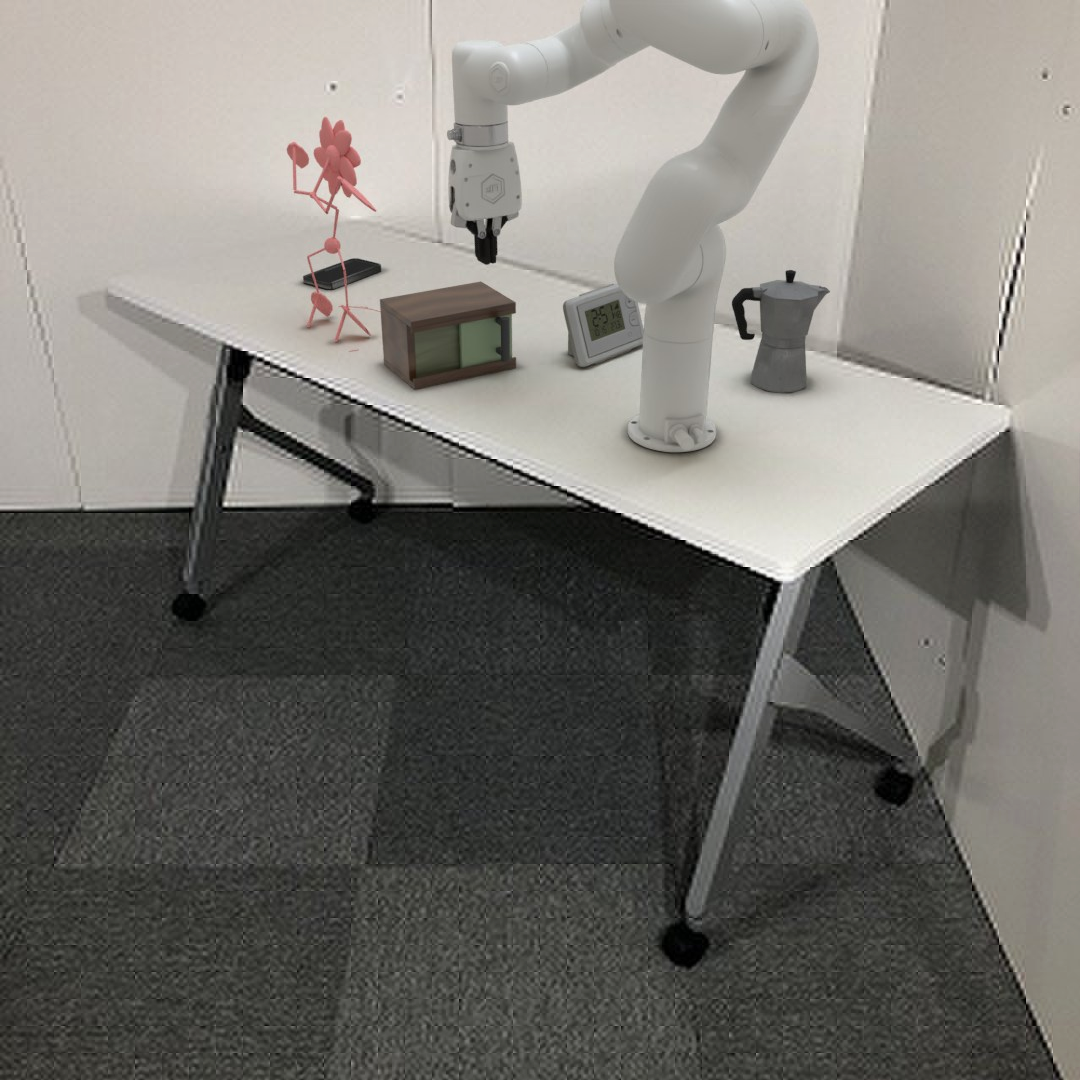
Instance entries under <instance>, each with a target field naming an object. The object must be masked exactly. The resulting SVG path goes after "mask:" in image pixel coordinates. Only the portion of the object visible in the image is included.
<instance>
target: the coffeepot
mask: <svg viewBox="0 0 1080 1080" xmlns="http://www.w3.org/2000/svg"><path fill="white" fill-rule="evenodd" d="M796 273H797V271H796V270H793V269H788V270H785V279H776V280H772V281H767V282H763V283H760V284H759V286H753V287H744V288H741V289H740V290H739V291H738V292H737V294H735V296H734V297H733V298H732V299H731V308H732V311H733V315H734V319H735V322H736V326H737V330H738V333H739V337H740V339H741V340H743V341H751V340H754V338H755V337H756V334H755V333H749V332H748V322H747V319H746V314H745V313H746V311H745V307H744V302H746V301H753V302H759V316H760V333H761V338H760V340H759V341H760V342H759V345H758V348H757V353H756V356H755V360H754V364H753V367H752V368H753V369H752V370H751V377H750V383H751V384H752V385H753V386H754V387H756V388H758V389H760V390H763V391H767V392H771V393H772V392H773V393H779V394H780V393H781V394H782V393H785V394H788V393H794V392H798V391H800V390H803V389H805V388H807V359H806V358H807V355H806V337H807V336H808V335H809V331H810V327H811V324H812V320H813V316H814V312H815V310H816V309H817V307H818V306H819V305H820V303H821V302H822V301H823V299H824V298H825V297H826V295H827V294H830V293H831V290H830V289H828V288H827V287H826V286H822V285H815V284H810V283H806V282H804V281H802V280H801V281H800V280H795V277H796Z"/></svg>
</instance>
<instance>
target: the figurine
mask: <svg viewBox="0 0 1080 1080" xmlns="http://www.w3.org/2000/svg"><path fill="white" fill-rule="evenodd" d="M345 127H346V126H345V122H344V121H343V119H339V120H338V121H336V122H335V124H334V126H332V124H331V122H330V119H329V118H328V116H324V117H323V118H322V120H321V128H320V130H319V133H318V137H319V143H320V146H317V147H315V148H314V149H313V157H314V159H315V161H316V163H317V164H318V165H319V166H320V168H322V170H321V173H320V175H319V177H318V179H317V182H316V183H315V186H314V188H313V190H312V191H305V190H299V189H298V188H297V187H298V185H297V167H299V168H300V169H304V168H306V167H307V166H308V165H309V163H310V157H309V154H308V153H307V151H306V150H305V149H304V148H303V147H302V146H300V145H299V144H297V142H296V141H292V142H290V143H288V145H287V147H286V154H287V155H288V157H289V158H290V160H291V161H292V187H293V188H292V189H293V194H296V195H297V194H298V195H305V196H309V197H310V198H311V199H313V200H314V201H315V203H317V205H318V206H319V207H320V209H321V210H322V211H323V212H324V213H325V214H326V215H328V214H329V212H330V210H331V209H333V210H335V214H334V222H333V223H334V224H333V233H332V235H333V236H331V237H328V238H326V240H325V241H324V243H323V248H321V249H319V250H317V251H314V252H312V253H310V254H308V255H307V256H306V258H307V264H308V265H309V269H310V273H312V277H313V280H314V283H315V286H314V287H315V290H316V291H313V292H311V295H310V301H311V304H312V308H311V309H312V310H311V312H310V315H309V318H308V322H307V325H306V327H307V328H311V325H312V322H313V319H314V316H315V312H316V310H317V311H319V312H320V313H321V314H322V315H324V316H325V317H326V318H329V317H330V316H331V314H332V312H333V304H332V302H331V301H330V300H329V298H328V297H327V296H326V295H325V294H323V293H322V292H320V290H319V287H318V286H317V283H316V279H315V276H314V273H313V272H314V270H313V269H314V268H313V266H312V263H311V257H313V256H315V255H318V254H319V253H322V252H323V251H324V252H325V251H326V252H327V253H328V254H331V255H335V254H338V257H339V260H340V262H341V263H342V267H343V270H344V283H345V285H344V295H345V305H343V304H341V305H338V308H341V309H342V310H343V313H342V316H341V319H340V322H339V324H338V328H337V331H336V334H335V337H334V340H333V342H334V343H338V341H339V338H340V335H341V333H342V329H343V326H344V324H345V320H346V318H347V317H346V316H349V318H350V319H351V320H352V321H353V322H354V323H355V324H356V325H357V326H358V327H359V328H360V329H362V331H363V332H365V333H366V334H367V335H368V336H369V337H371V336H372V334H371V333H370V332H369V330H368V328H367V327H365V325H364V324H363V323H362V322H361V320H359V318H358V317H356V316H355V314H354V313H353V312H352V311H350V310H351V308H352V306H349V296H348V284H347V280H346V271H345V267H344V263H343V261H344V260H343V257H342V253H341V241H340V240H339V239H338V238H337V237H336V234H337V228H338V220H339V216H340V215H339V213H340V209H339V208H338V206H336V205H334V204H333V201H334V200H335V196H336V195H337V194H338V192H340V190H342V192H343V194H344V196H345V197H346V198H348V199H349V198H351V196H352V195H353V196H354V197H355V198H356V199H357V200H358V201H360V202H361V203H362V204H363V205H365V206H366V207H367V208H369V209H370V210H371V211H373V212H374V213H376V212H377V209H376V208H375V207H374V205H373V204H372V203H371V202H370V201H369V200H368V198H367V197H365V196H364V194H362V192H361V191H359V189H357V188H356V185H357V184H358V183H357V181H358V180H357V179H358V178H357V174H356V170H355V168H358V167H359V166H360V165H361V162H362V160H361V159H362V158H361V156H360V154H359V153H358V151H357V150H356V149H355V147H353V146H351V145H352V140H353V137H352V134H351V132H350V131H349V130H346V128H345ZM323 179H324V180H325V181H327V184H328V191H329V192H328V193H330V198H329V200H328V201H327V200H325V199H323V198H321V197H319V196H317V192H318V190H319V187H320V185H321V183H322V181H323ZM322 203H323V204H325V205H326V207H325V205H323V204H322ZM353 308H355V309H356V308H357V309H364V310H370V311H375V312H378V313H381V310H378V309H373V308H369V307H368V306H365V307H363V306H361V305H360V306H353ZM357 351H359V349H354V350H353V349H352V350H349V351H348V352H349V353H350V352H357Z"/></svg>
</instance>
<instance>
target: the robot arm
mask: <svg viewBox="0 0 1080 1080" xmlns="http://www.w3.org/2000/svg"><path fill="white" fill-rule="evenodd" d="M649 47H652V48H654V49H656V50H658V51H660V52H663V53H664V54H667V55H669V56H671V57H673V58H675V59H678V60H680V61H681V62H683V63H686V64H687V65H690V66H692V67H694V68H697V69H698V70H701V71H704V72H707V73H710V74H714V75H724V76H725V75H726V76H727V75H734V74H737V73H740V72H744V73H743V75H742V76H741V78H740V80H739V81H738V83H737V84H736V86H735V87H734V88H733V89H732V90H731V92H730V93H729V95H728V96H727V98H726V99H725V101H724V102H723V104H722V106H721V107H720V110H719V112H718V115H717V117H716V119H715V120H714V122H713V124H712V126H711V128H710V129H709V131H708V133H707V135H706V136H705V138H704V139H703V141H701V143H700V144H699V145H697V146H695V147H694V148H692V149H691V150H687V151H685V152H683V153H681V154H678V155H675V156H674V157H672V158H670V159H669V160H667V161H666V162H665V163H663V164H662V165H661V166H660V167H659V168H658V170H656V172H655V173H654V175H653V176H652V177H651V178H650V180H649V182H648V184H647V185H646V187H645V190H644V191H643V193H642V195H641V197H640V199H639V201H638V203H637V205H636V208H635V209H634V211H633V214H632V215H631V217H630V219H629V222H628V223H627V226H626V228H625V229H624V231H623V234H622V235H621V238H620V240H619V242H618V244H617V247H616V250H615V254H614V260H613V270H614V271H613V272H614V277H615V280H616V284H617V283H618V285H619V287H620V289H621V290H622V291H623V293H624V294H625V295H626V296H627V297H629V298H630V299H632V300H634V301H636V302H638V304H639V303H640V304H643V305H645V308H644V309H645V310H644V318H643V329H644V334H643V344H642V352H641V353H642V354H641V355H642V356H641V373H640V376H641V377H640V378H641V379H640V395H639V396H640V397H639V413H638V414H637V415H635V416H633V417H632V418H630V419H629V421H628V423H627V424H628V425H627V435H628V436H629V438H630V439H631V440H632V441H633V442H635V444H637V445H638V446H641V447H644V448H646V449H650V450H653V451H658V452H665V453H688V452H693V451H697V450H702V449H704V448H706V447H708V446H710V445H711V444H712V443H713V442H714V441H715V439H716V437H717V427H716V425H715V424H714V422H713V421H711V420H710V419H709V418H707V413H708V401H709V388H710V377H711V366H712V353H713V342H714V341H713V340H714V332H715V331H714V330H715V321H716V309H717V302H718V296H719V291H720V287H721V282H722V278H723V274H724V269H725V265H726V260H727V259H726V258H727V243H726V237H725V233H724V232H723V229H722V228H721V226H720V224H722V223H724V222H726V221H728V220H730V219H732V218H734V217H736V216H737V215H739V214H740V213H741V212H742V211H744V210H745V209H746V208H747V206H748V205H749V203H750V201H751V200H752V199H753V196H754V195H755V192H756V191H757V189H758V187H759V186H760V183H761V181H762V180H763V178H764V176H765V174H766V173H767V170H768V169H769V167H770V165H771V164H772V162H773V160H774V158H775V157H776V155H777V153H778V151H779V150H780V147H781V145H782V143H783V141H784V139H785V138H786V136H787V134H788V132H789V130H790V129H791V127H792V125H793V124H794V122H795V120H796V118H797V116H798V115H799V113H800V111H801V109H802V108H803V106H804V104H805V103H806V102H805V101H806V100H807V98H808V95H809V94H810V92H811V88H812V86H813V83H814V81H815V77H816V74H817V70H818V66H819V65H818V64H819V57H820V46H819V37H818V30H817V27H816V24H815V21H814V18H813V16H812V14H811V12H810V10H809V9H808V7H807V5H806V4H805V3H804V2H803V1H802V0H585V1H584V2H583V4H582V6H581V10H580V14H579V20H577V21H575V22H574V23H572V24H571V25H569V26H567V27H565V28H563V29H561V30H560V31H558V32H556V33H554V34H551V35H550V36H547V37H544V38H539V39H533V40H527V41H523V42H522V41H521V42H519V43H515V44H509V45H504V44H502V43H501V42H499V41H497V40H492V39H469V40H463V41H459V42H458V43H456V44H454V46H453V48H452V50H451V69H452V70H451V73H452V90H453V92H452V93H453V112H454V115H453V116H454V122H453V128H451V129H449V130H447V131H446V138H447V139H448V140H449V141H453V142H454V143H455V144H454V145H452V146H451V150H450V158H449V165H448V184H447V186H448V187H447V191H448V193H447V194H448V196H447V197H448V207H449V212H450V213H451V217H450V225H451V226H453V227H455V228H460V229H467V231H469V232H470V234H471V235H473V238H474V256H475V258H476V260H477V261H478V262H480V263H481V264H483V265H486V266H487V265H490V264H492V265H493V264H497V256H498V254H499V253H498V237H499V236H500V235H501V231H502V229H503V228H504V226H505V225H506V223H507V222H511V221H512V220H514V219H516V218H518V217H519V216H520V215H519V214H520V213H519V211H520V210H522V205H523V198H522V197H523V195H522V183H521V173H520V166H519V160H518V156H517V155H518V154H517V150H516V146H515V143H514V142H513V141H509V116H508V115H509V113H508V111H509V110H508V106H519V105H524V104H528V103H531V102H535V101H538V100H541V99H546V98H550V97H554V96H558V95H560V94H563V93H565V92H567V91H570V90H572V89H574V88H575V87H578V86H579V85H581V84H583V83H586V82H588V81H590V80H592V79H594V78H596V77H598V76H599V75H601V74H603V73H605V72H606V71H608V70H609V69H611V68H613V67H615V66H616V65H617V64H618V63H620V62H622V61H624V60H625V59H628V58H629V57H631V56H633V55H635V54H637V53H639V52H640V51H643V50H645V49H647V48H649Z"/></svg>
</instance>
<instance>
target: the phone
mask: <svg viewBox="0 0 1080 1080" xmlns="http://www.w3.org/2000/svg"><path fill="white" fill-rule="evenodd" d="M343 263H344V267H345V271H346V280H347V285H349V284H350V283H353V282H356V281H358V280H361V279H364V278H366V277H370V276H372V275H374V274H377V273H380V272H382V264H381V263H378V262H374V261H369V260H367V259H363V258H358V257H353V258H349V259H346V260H343ZM313 273H314V276H315V279H316V283H317V286H318V288H321V289H324V290H334V289H335V290H336V289H337V288H340V287H344V286H345V283H344V270H343V267H342V263H341V261H340V262H338V263H335V264H332V265H330V266H327V267H324V268H321V269H318V270H315V271H313ZM302 281H303V284H306V285H310V286H312V287H313V286H314V287H315V283H314V280H313V277H312V273H311V272H310V273H307V274H304V275H303V276H302Z"/></svg>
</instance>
